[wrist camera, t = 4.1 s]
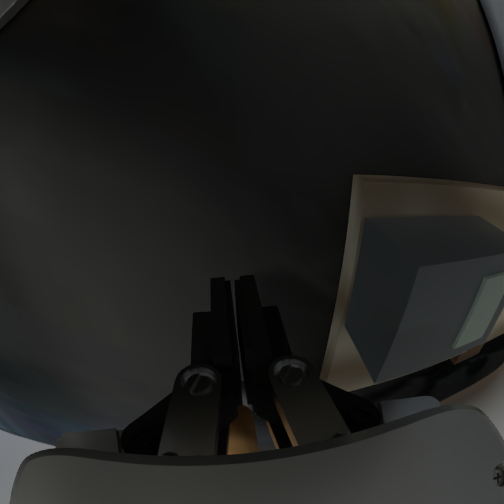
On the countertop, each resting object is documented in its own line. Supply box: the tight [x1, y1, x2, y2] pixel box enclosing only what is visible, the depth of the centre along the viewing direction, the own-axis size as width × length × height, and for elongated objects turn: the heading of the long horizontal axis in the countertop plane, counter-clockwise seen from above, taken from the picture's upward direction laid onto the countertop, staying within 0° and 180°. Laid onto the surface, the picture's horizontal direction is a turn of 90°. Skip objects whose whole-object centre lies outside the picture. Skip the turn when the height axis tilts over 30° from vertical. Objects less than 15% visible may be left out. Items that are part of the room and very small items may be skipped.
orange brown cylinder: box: [228, 381, 259, 455], centre depth 15 cm, size 4×4×7 cm
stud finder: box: [344, 216, 504, 384], centre depth 11 cm, size 6×8×4 cm
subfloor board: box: [319, 174, 504, 392], centre depth 16 cm, size 18×24×1 cm
